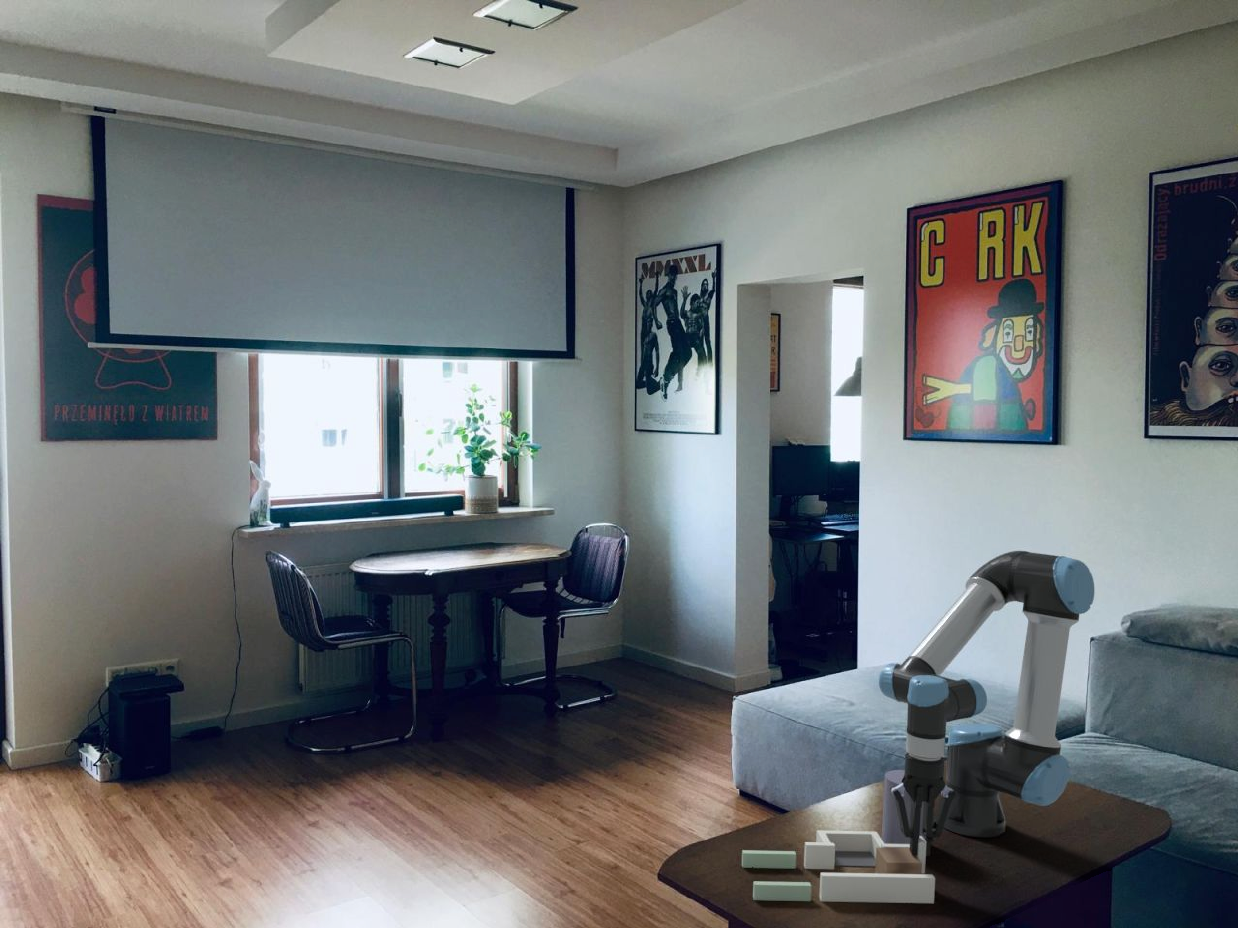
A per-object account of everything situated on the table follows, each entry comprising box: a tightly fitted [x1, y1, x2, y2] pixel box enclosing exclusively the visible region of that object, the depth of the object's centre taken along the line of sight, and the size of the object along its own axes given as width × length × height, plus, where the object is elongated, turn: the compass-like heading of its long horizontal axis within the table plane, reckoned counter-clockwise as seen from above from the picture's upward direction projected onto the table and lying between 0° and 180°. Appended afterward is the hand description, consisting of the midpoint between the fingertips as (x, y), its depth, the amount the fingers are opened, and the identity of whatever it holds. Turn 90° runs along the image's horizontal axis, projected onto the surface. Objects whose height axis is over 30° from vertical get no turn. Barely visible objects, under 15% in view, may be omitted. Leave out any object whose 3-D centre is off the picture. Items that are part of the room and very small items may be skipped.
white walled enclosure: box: [803, 829, 936, 904], centre depth 209 cm, size 22×24×5 cm
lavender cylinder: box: [881, 769, 923, 844], centre depth 224 cm, size 10×10×15 cm
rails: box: [741, 849, 813, 902], centre depth 204 cm, size 11×16×3 cm
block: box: [874, 847, 922, 874], centre depth 205 cm, size 7×7×6 cm
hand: (918, 870), depth 205 cm, fingers closed
